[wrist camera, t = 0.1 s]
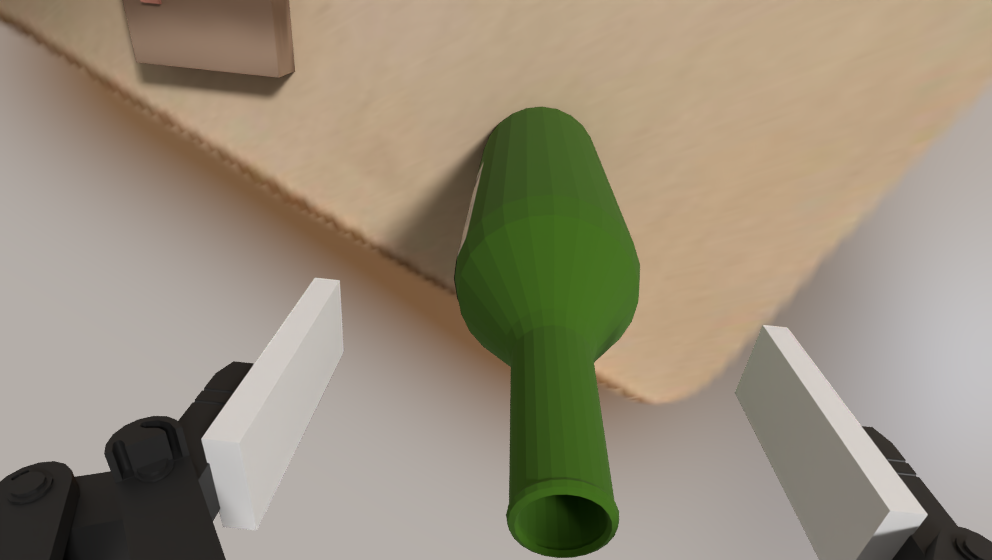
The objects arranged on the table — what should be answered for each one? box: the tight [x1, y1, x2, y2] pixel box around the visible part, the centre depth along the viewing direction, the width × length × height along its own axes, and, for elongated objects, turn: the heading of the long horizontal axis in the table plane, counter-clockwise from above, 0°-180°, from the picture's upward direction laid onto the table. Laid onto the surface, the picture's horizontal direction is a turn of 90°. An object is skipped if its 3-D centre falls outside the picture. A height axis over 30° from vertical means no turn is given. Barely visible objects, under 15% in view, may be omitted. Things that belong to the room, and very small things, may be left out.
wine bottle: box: [454, 107, 640, 558], centre depth 28 cm, size 9×9×32 cm
